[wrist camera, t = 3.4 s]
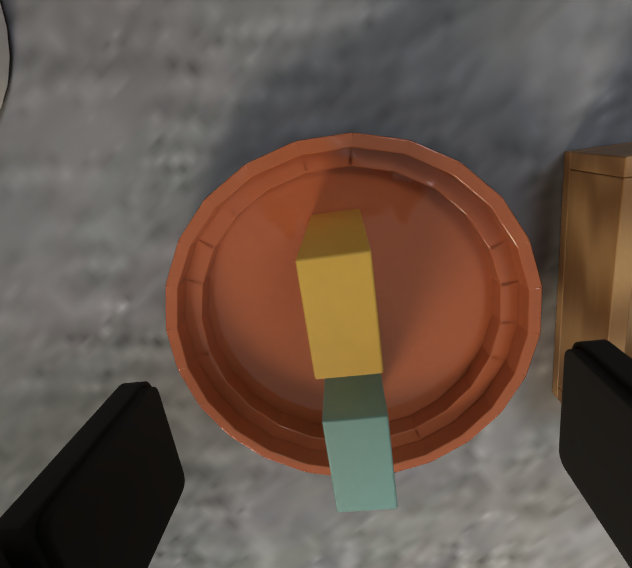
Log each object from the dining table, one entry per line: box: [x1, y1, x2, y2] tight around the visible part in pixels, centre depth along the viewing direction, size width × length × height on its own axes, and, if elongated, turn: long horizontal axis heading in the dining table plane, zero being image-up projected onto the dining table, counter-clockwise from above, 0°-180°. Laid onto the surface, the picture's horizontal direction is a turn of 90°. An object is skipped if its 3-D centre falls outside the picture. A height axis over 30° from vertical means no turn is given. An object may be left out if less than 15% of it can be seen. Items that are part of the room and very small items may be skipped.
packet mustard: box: [295, 209, 383, 379], centre depth 18 cm, size 5×2×8 cm, turn 8°
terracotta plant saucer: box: [166, 133, 542, 475], centre depth 22 cm, size 18×18×3 cm
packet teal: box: [322, 373, 398, 512], centre depth 20 cm, size 5×2×8 cm, turn 8°
